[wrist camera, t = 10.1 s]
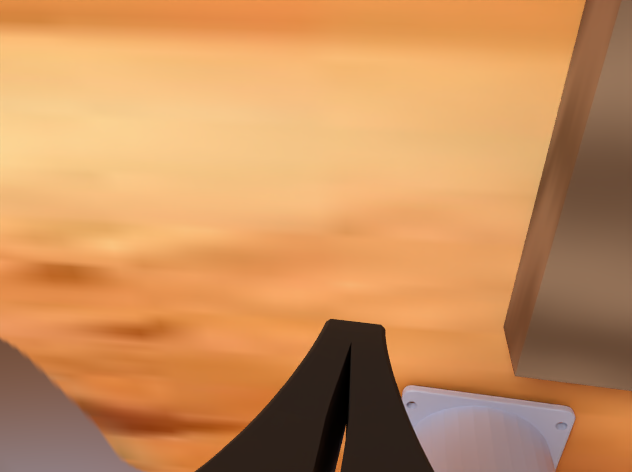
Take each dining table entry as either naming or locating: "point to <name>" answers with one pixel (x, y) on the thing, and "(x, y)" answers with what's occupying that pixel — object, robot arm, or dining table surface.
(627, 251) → the walnut board
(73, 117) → the dining table surface
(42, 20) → the dining table surface
